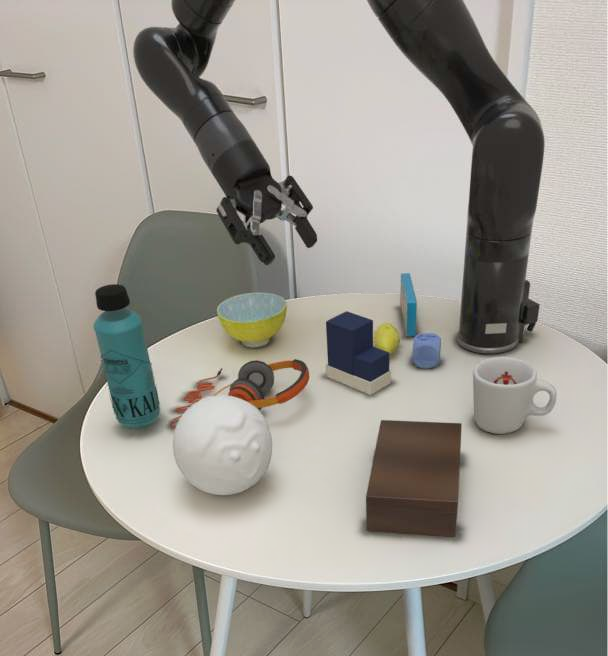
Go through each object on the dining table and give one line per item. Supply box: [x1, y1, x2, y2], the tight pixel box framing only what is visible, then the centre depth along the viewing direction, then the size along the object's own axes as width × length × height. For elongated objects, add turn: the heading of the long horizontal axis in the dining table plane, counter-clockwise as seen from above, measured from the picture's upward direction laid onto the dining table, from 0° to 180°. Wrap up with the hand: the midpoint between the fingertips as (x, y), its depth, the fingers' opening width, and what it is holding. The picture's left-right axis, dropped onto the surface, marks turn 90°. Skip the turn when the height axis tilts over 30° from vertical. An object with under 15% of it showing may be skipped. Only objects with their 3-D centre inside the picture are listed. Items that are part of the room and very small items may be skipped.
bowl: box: [216, 291, 288, 348], centre depth 123 cm, size 11×12×6 cm
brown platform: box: [365, 419, 463, 538], centre depth 90 cm, size 16×10×5 cm, turn 170°
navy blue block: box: [325, 310, 392, 396], centre depth 110 cm, size 9×5×9 cm, turn 45°
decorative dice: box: [411, 332, 442, 369], centre depth 115 cm, size 4×4×4 cm
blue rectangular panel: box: [399, 272, 418, 338], centre depth 125 cm, size 12×2×6 cm, turn 179°
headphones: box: [169, 358, 310, 429], centre depth 108 cm, size 17×5×20 cm
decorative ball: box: [172, 394, 273, 496], centre depth 91 cm, size 12×12×12 cm
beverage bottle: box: [93, 283, 162, 428], centre depth 101 cm, size 6×7×20 cm
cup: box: [472, 356, 558, 435], centre depth 98 cm, size 11×8×8 cm
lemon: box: [373, 322, 401, 357], centre depth 119 cm, size 4×8×4 cm, turn 169°
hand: (292, 253), depth 110 cm, fingers open, 8 cm apart
